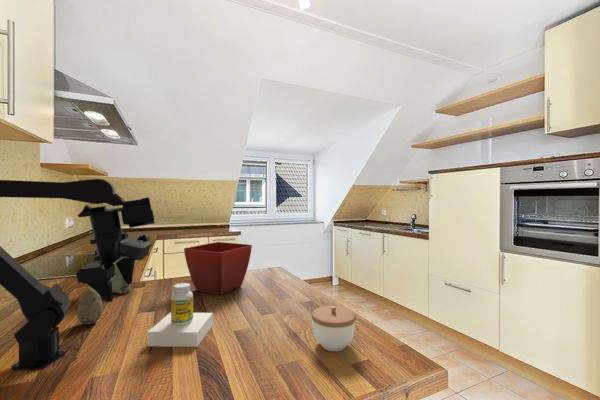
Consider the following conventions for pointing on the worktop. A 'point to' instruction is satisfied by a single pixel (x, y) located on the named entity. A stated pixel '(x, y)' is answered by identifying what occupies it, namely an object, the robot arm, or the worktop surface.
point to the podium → (180, 331)
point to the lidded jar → (333, 327)
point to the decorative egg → (89, 307)
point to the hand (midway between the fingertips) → (120, 292)
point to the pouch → (119, 283)
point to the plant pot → (218, 266)
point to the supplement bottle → (181, 304)
